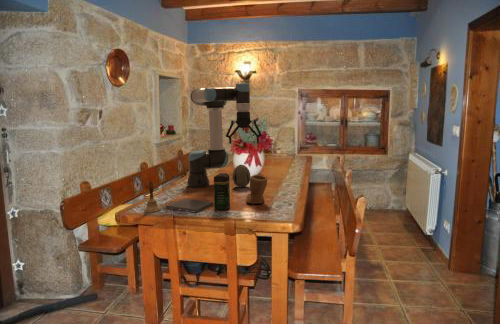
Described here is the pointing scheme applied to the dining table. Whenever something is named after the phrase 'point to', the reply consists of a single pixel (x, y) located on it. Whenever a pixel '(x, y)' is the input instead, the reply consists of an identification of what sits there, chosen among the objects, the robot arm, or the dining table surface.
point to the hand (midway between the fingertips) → (244, 149)
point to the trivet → (190, 205)
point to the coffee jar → (221, 191)
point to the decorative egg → (241, 176)
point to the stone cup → (257, 189)
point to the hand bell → (151, 200)
